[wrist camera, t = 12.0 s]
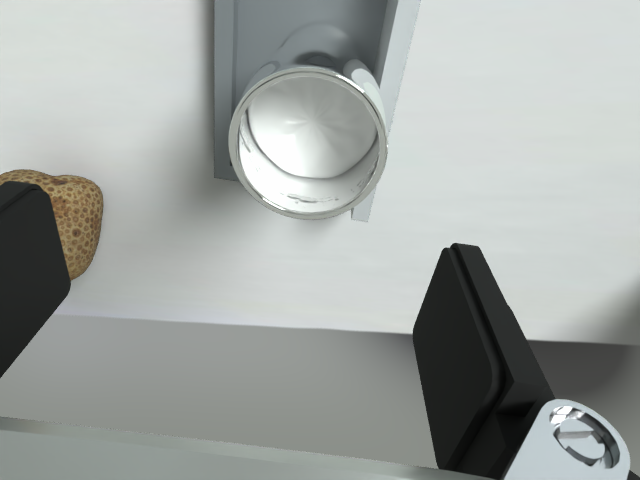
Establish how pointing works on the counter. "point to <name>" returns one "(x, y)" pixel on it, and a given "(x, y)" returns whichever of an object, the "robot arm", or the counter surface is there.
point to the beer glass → (310, 127)
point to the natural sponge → (70, 213)
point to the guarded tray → (272, 32)
